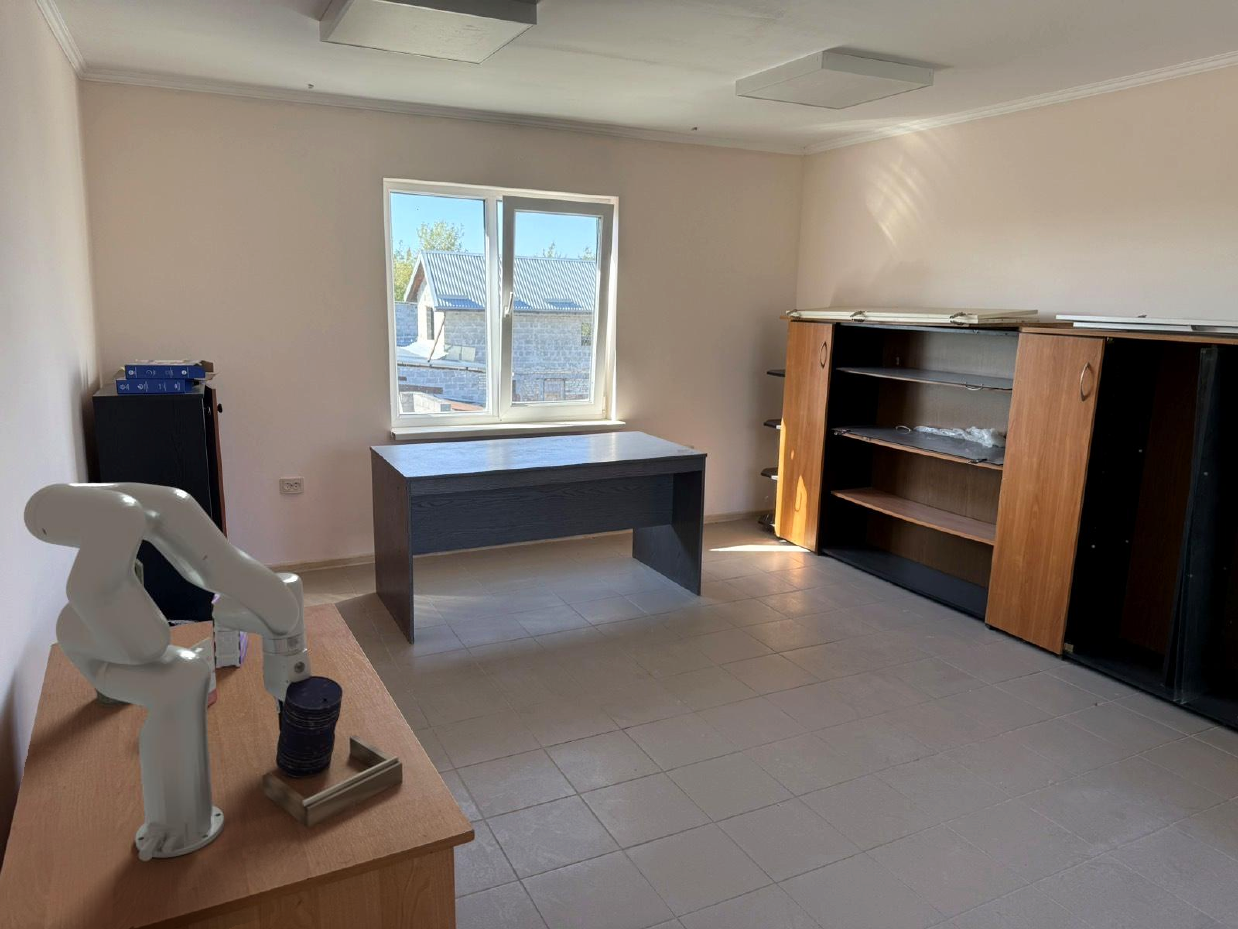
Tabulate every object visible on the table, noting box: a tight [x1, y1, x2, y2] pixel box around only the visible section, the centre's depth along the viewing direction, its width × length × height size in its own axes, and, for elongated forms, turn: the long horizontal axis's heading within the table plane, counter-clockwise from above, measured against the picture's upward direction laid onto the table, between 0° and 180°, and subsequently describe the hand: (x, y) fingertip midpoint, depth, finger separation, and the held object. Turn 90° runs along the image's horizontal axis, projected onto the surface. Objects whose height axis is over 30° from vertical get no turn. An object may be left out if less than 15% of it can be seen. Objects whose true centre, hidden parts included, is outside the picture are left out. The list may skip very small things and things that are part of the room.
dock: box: [262, 734, 403, 829], centre depth 145 cm, size 15×18×4 cm
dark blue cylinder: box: [275, 675, 344, 778], centre depth 149 cm, size 10×10×15 cm
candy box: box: [210, 593, 249, 669], centre depth 195 cm, size 14×6×16 cm, turn 17°
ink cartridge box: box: [188, 636, 218, 708], centre depth 170 cm, size 9×5×15 cm, turn 168°
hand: (289, 730), depth 155 cm, fingers closed
